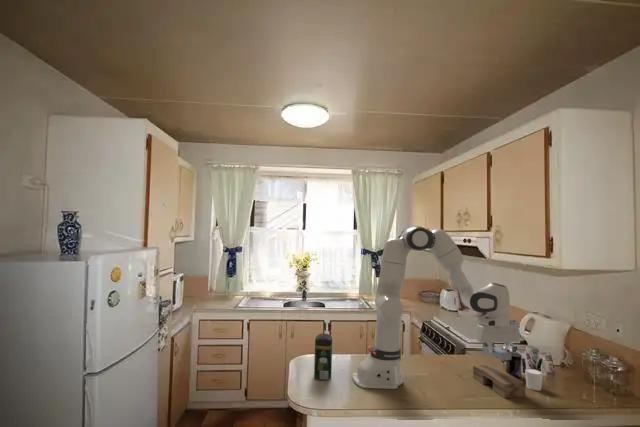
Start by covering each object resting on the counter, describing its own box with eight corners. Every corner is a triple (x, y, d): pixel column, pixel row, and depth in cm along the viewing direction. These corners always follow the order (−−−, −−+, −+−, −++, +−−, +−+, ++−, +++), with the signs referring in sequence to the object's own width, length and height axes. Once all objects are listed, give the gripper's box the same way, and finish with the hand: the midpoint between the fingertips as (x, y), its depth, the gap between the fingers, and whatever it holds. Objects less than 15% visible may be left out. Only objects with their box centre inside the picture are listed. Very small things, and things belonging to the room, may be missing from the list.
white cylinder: (543, 387, 156) (543, 371, 156) (542, 392, 150) (542, 376, 150) (525, 382, 159) (525, 367, 160) (524, 388, 154) (524, 371, 154)
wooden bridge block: (504, 398, 143) (504, 384, 144) (473, 377, 163) (473, 365, 163) (525, 396, 146) (525, 383, 146) (491, 376, 165) (492, 364, 165)
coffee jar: (314, 371, 163) (316, 331, 164) (331, 373, 163) (332, 332, 164) (312, 380, 154) (314, 337, 155) (330, 381, 153) (332, 338, 154)
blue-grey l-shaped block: (482, 350, 161) (482, 341, 162) (492, 350, 162) (492, 340, 163) (501, 360, 150) (501, 349, 150) (511, 359, 151) (511, 349, 151)
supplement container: (515, 380, 162) (515, 357, 162) (502, 374, 168) (502, 352, 169) (524, 378, 165) (525, 355, 165) (511, 372, 171) (511, 351, 171)
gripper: (513, 317, 161) (512, 348, 160) (473, 318, 157) (473, 350, 156) (523, 321, 155) (523, 353, 154) (483, 322, 151) (482, 355, 150)
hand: (498, 351), depth 155 cm, fingers closed on blue-grey l-shaped block, 5 cm apart
